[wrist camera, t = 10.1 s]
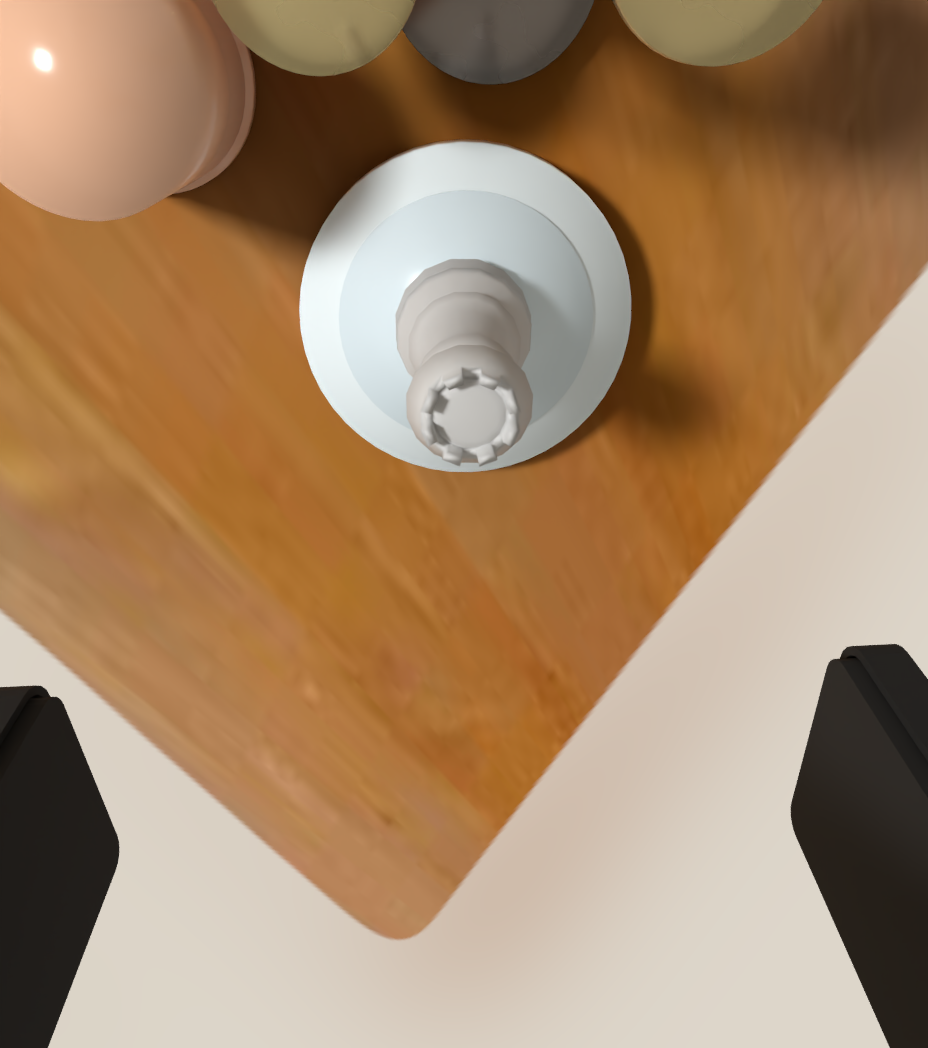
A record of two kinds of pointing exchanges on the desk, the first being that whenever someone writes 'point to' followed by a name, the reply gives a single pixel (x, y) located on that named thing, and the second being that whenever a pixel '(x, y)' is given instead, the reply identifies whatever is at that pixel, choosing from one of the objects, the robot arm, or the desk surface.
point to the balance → (500, 31)
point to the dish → (465, 233)
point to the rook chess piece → (465, 360)
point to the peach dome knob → (118, 102)
